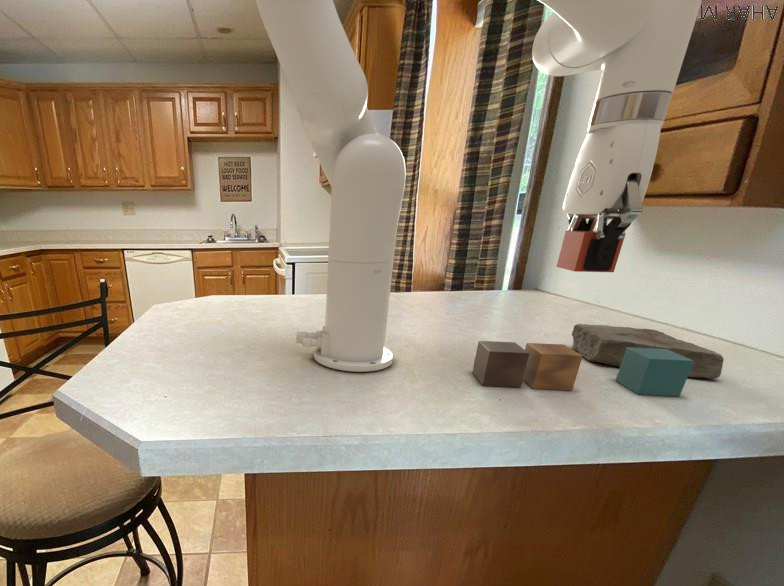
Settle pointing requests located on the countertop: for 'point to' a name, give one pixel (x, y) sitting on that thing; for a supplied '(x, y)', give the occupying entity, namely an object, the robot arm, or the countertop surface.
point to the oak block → (551, 366)
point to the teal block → (654, 371)
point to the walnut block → (500, 364)
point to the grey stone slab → (613, 342)
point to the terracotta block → (580, 251)
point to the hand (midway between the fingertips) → (584, 266)
